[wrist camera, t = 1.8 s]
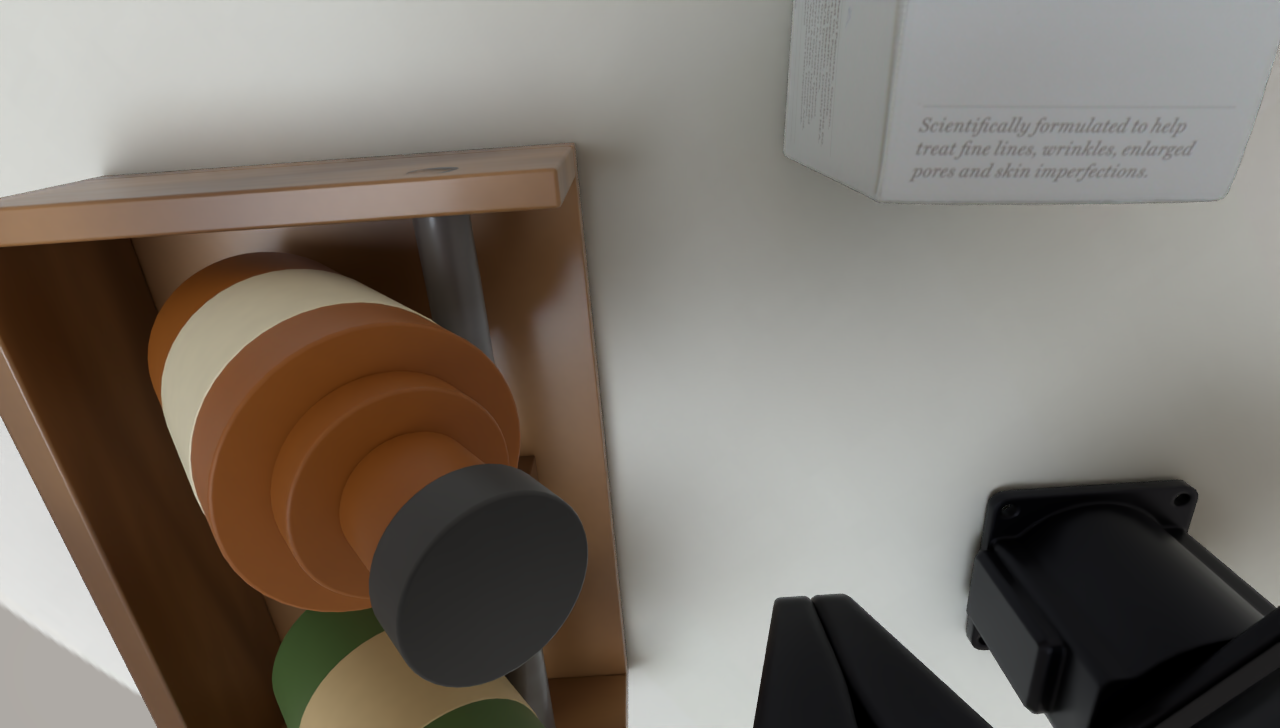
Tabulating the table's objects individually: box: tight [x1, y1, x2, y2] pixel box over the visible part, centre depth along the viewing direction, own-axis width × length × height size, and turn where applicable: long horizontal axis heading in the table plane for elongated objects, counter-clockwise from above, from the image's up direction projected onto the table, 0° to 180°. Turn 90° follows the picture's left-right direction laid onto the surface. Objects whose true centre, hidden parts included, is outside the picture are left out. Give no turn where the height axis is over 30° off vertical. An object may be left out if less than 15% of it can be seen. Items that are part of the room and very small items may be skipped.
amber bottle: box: [148, 252, 588, 688], centre depth 13 cm, size 10×5×12 cm, turn 94°
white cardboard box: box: [783, 0, 1280, 205], centre depth 13 cm, size 6×6×7 cm
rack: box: [0, 143, 628, 728], centre depth 19 cm, size 12×19×5 cm, turn 4°
